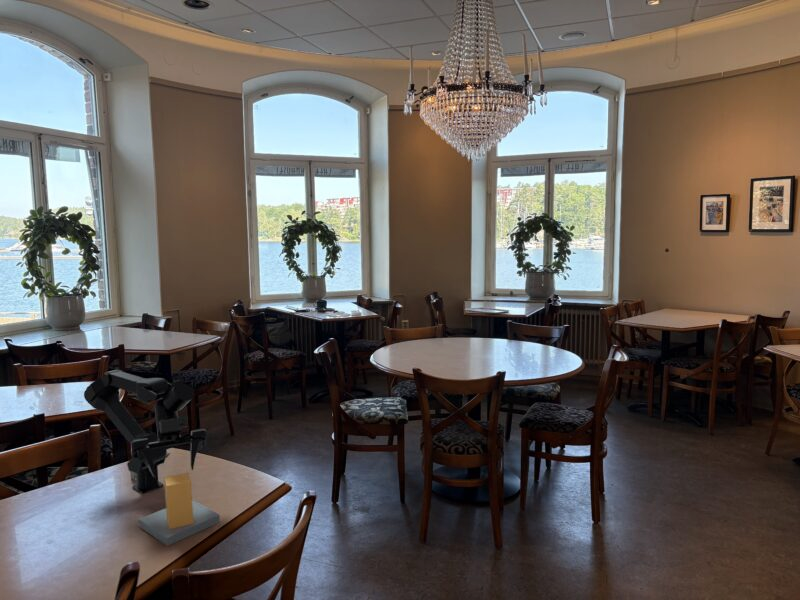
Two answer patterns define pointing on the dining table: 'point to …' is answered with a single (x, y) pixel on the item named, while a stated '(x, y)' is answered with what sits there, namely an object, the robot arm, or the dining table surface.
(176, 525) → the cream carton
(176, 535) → the terminal board
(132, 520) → the dining table surface
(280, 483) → the dining table surface
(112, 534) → the dining table surface
